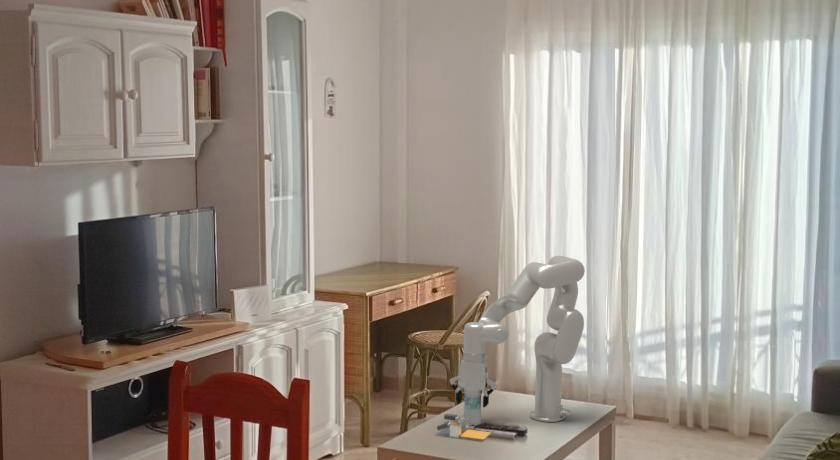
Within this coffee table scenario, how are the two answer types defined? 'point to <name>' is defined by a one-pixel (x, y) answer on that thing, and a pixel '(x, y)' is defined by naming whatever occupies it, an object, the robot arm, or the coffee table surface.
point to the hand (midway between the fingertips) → (472, 404)
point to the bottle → (472, 403)
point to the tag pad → (475, 434)
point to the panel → (447, 434)
